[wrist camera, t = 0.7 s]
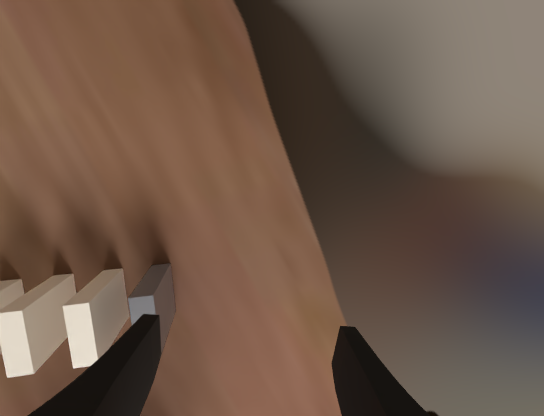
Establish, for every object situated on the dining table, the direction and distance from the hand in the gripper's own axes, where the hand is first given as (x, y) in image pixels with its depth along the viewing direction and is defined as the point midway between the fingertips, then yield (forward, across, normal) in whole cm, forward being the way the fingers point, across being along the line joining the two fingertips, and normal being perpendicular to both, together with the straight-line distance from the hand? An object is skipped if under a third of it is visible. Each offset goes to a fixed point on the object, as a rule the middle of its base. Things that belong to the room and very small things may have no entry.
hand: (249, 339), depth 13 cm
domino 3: (+13, +16, +10) cm, 22 cm away
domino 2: (+13, +12, +9) cm, 20 cm away
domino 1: (+14, +8, +8) cm, 18 cm away
